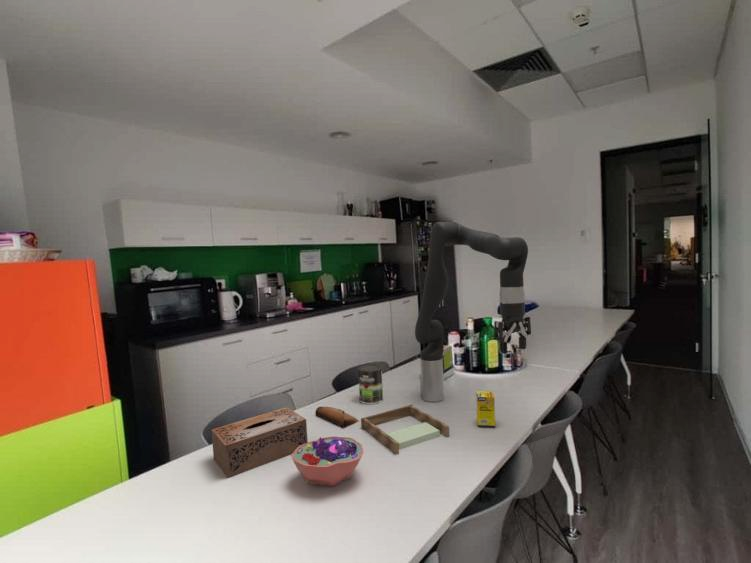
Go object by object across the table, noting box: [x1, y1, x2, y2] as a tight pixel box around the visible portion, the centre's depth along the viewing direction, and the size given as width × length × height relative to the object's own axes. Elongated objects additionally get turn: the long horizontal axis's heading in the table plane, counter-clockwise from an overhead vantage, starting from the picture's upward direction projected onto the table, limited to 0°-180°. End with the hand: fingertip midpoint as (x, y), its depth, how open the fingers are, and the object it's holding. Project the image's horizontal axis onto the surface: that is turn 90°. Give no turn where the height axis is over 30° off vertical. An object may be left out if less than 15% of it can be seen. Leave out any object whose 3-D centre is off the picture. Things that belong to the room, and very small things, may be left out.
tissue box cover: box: [210, 406, 308, 479], centre depth 127 cm, size 26×14×10 cm, turn 128°
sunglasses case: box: [315, 406, 360, 429], centre depth 152 cm, size 18×7×7 cm, turn 44°
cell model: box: [290, 436, 365, 487], centre depth 111 cm, size 17×20×11 cm
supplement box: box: [475, 390, 496, 429], centre depth 140 cm, size 6×6×11 cm
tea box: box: [442, 344, 454, 382], centre depth 195 cm, size 15×10×15 cm
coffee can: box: [357, 364, 384, 405], centre depth 169 cm, size 10×10×14 cm
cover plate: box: [386, 422, 441, 450], centre depth 133 cm, size 8×16×2 cm, turn 118°
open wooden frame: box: [360, 404, 450, 455], centre depth 138 cm, size 23×22×4 cm
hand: (513, 351), depth 127 cm, fingers open, 8 cm apart
